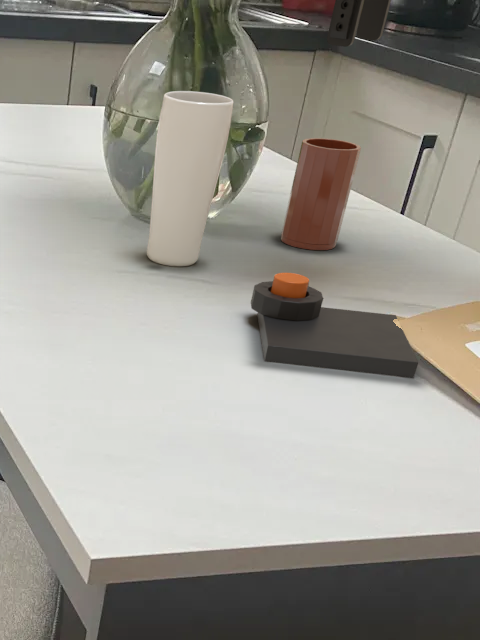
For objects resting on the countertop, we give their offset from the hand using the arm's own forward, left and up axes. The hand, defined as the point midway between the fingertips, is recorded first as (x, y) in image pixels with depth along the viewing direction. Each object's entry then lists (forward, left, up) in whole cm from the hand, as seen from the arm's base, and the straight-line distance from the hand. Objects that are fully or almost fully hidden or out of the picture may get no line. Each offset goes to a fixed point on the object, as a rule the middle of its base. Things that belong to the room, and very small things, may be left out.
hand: (354, 42), depth 96 cm
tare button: (+3, +16, -18) cm, 24 cm away
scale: (-1, +20, -20) cm, 29 cm away
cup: (-2, -14, -20) cm, 25 cm away
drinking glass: (+13, -1, -21) cm, 24 cm away
